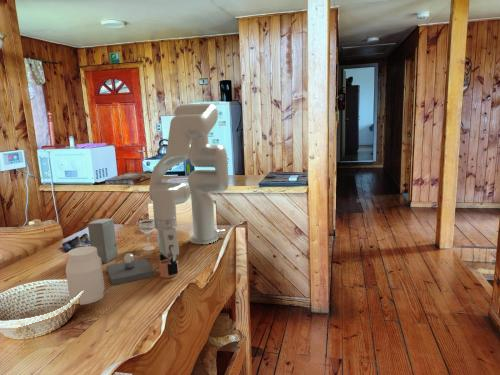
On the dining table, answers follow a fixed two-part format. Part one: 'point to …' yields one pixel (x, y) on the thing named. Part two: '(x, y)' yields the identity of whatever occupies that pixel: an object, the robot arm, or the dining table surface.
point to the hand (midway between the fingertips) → (169, 269)
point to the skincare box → (103, 238)
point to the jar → (85, 274)
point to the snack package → (76, 242)
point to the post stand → (129, 270)
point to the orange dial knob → (166, 269)
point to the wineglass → (147, 230)
